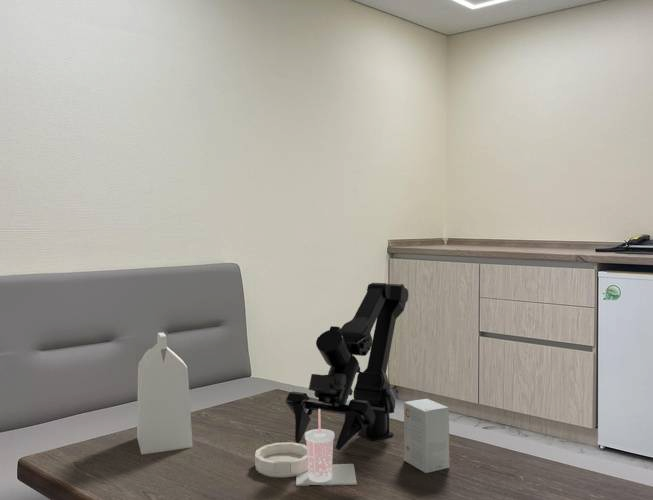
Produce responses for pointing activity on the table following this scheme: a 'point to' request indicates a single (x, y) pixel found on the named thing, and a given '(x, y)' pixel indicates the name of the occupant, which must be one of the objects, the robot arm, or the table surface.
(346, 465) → the mat
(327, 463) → the beverage cup
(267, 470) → the bowl
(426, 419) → the small box
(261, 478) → the table surface
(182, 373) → the milk
